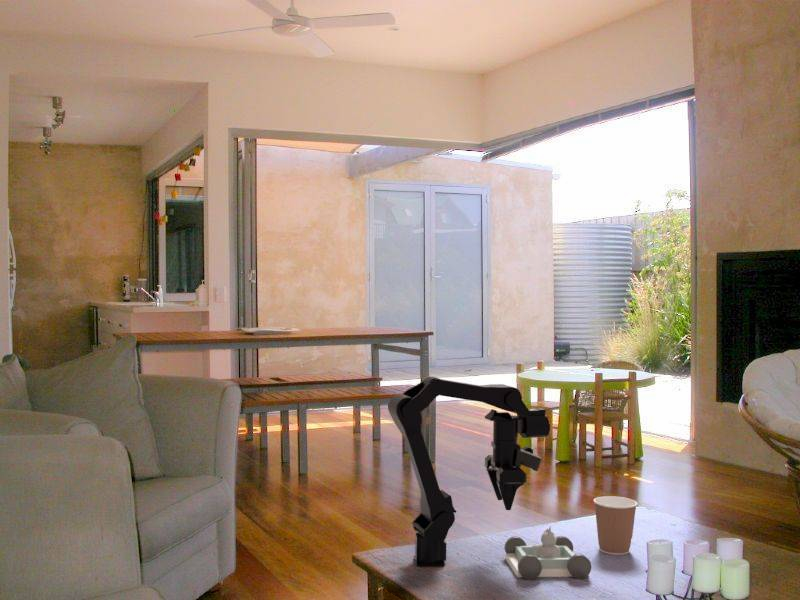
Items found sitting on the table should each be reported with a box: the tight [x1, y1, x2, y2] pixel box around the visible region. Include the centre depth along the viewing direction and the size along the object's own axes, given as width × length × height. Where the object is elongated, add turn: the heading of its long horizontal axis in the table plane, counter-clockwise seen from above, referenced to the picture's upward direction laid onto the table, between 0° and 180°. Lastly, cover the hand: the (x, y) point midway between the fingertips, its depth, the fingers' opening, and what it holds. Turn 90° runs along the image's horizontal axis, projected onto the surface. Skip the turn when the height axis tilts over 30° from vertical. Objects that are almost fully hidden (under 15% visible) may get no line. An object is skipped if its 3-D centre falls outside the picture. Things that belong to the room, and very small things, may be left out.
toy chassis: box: [504, 535, 592, 581], centre depth 193 cm, size 16×15×5 cm
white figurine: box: [531, 525, 560, 558], centre depth 192 cm, size 5×7×8 cm
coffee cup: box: [593, 495, 638, 556], centre depth 206 cm, size 10×10×12 cm
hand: (504, 504), depth 201 cm, fingers open, 9 cm apart
